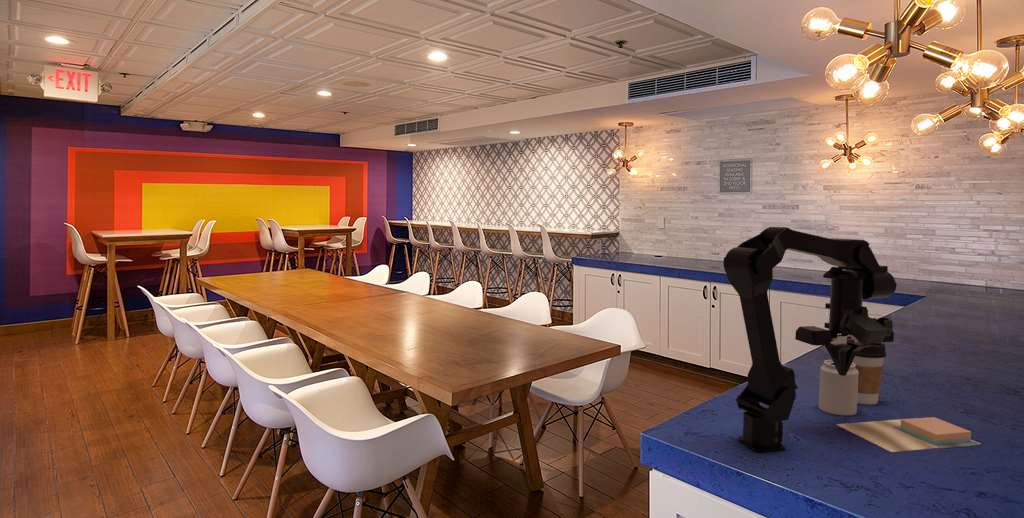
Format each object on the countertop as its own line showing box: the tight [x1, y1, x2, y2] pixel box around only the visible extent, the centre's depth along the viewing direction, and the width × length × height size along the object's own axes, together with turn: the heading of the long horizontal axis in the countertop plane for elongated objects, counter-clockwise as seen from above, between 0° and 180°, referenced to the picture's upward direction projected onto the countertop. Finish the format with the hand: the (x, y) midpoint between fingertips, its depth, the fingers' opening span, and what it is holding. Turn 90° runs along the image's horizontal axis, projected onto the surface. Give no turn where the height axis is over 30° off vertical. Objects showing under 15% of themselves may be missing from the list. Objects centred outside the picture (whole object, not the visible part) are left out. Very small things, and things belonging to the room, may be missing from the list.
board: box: [836, 417, 982, 453], centre depth 116 cm, size 20×14×1 cm
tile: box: [900, 416, 972, 445], centre depth 115 cm, size 2×8×8 cm
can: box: [818, 359, 859, 416], centre depth 130 cm, size 8×8×12 cm
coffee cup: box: [852, 342, 887, 405], centre depth 136 cm, size 8×8×15 cm
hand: (842, 375), depth 119 cm, fingers closed
